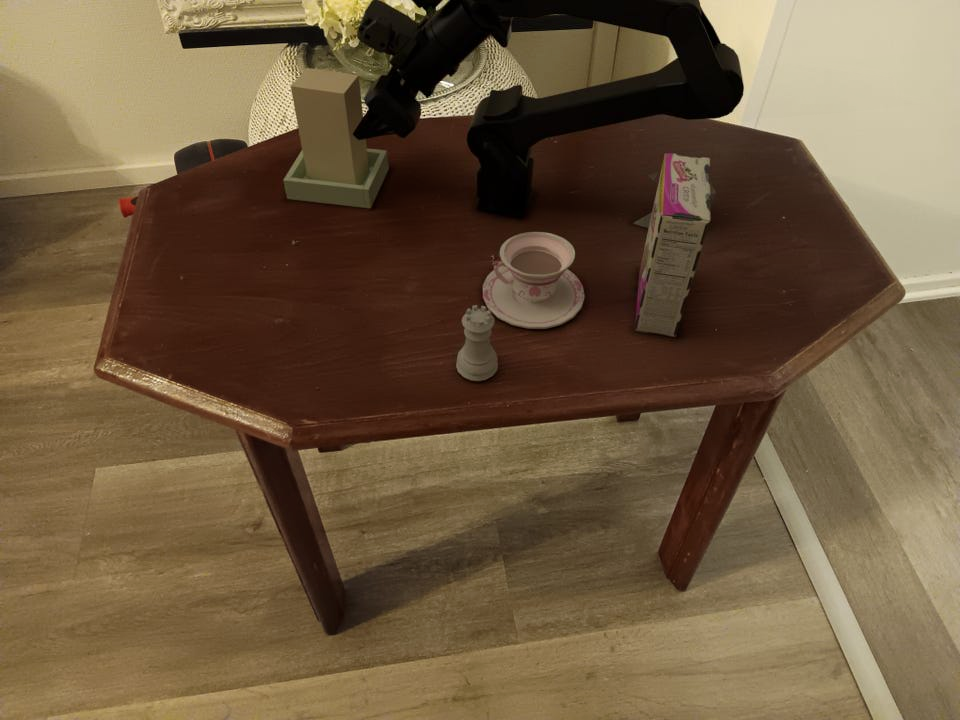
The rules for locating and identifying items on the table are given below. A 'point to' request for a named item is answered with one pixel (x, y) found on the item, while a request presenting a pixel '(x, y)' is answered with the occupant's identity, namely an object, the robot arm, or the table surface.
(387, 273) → the table surface
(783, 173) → the table surface
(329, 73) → the tan rectangular block
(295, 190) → the socket
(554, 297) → the teacup
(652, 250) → the candy bar box
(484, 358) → the rook chess piece
